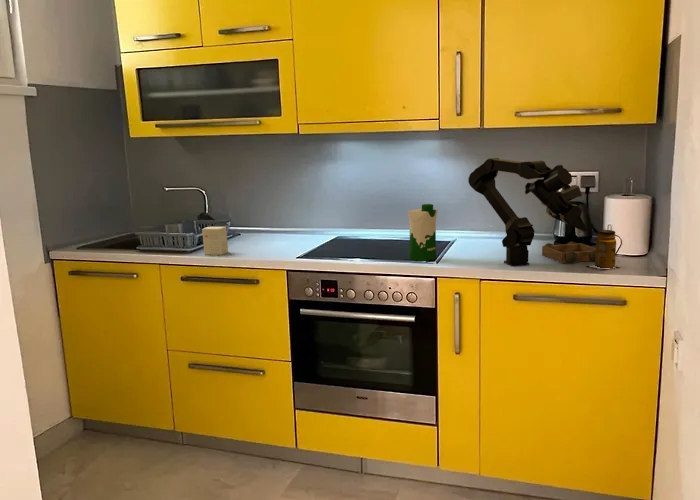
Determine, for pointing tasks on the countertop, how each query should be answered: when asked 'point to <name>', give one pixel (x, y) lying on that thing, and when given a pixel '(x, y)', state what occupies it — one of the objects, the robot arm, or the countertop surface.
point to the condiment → (605, 249)
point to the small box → (215, 240)
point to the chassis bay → (569, 252)
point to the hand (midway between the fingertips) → (581, 228)
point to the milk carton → (423, 233)
